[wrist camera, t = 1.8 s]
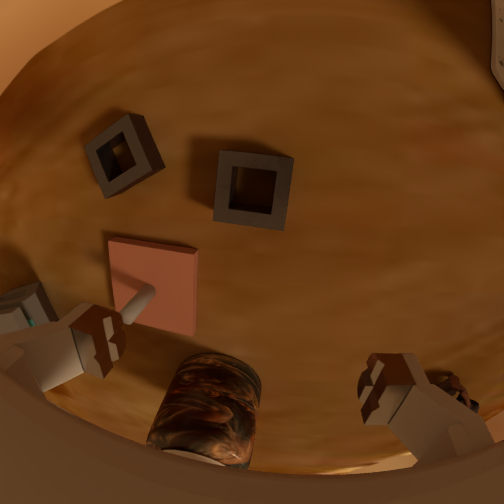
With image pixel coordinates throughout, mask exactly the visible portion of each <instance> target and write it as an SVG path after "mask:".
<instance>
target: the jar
mask: <svg viewBox="0 0 504 504" xmlns="http://www.w3.org/2000/svg"><path fill="white" fill-rule="evenodd" d="M260 397H261V382H260V379H259V377H258V375H257V374H256V372H255V371H254V370H253V369H252V368H251V367H249V366H248V365H247V364H245V363H243V362H242V361H240V360H238V359H235V358H233V357H230V356H226V355H221V354H211V353H208V354H199V355H195V356H192V357H190V358H188V359H186V360H185V361H183V362H182V363H181V365H180V366H179V368H178V369H177V371H176V373H175V376H174V378H173V380H172V382H171V384H170V386H169V388H168V390H167V392H166V395H165V397H164V399H163V401H162V403H161V406H160V408H159V410H158V412H157V414H156V417H155V419H154V421H153V424H152V426H151V429H150V431H149V434H148V437H147V441H146V445H147V446H149V447H152V448H155V449H158V450H161V451H165V452H168V453H171V454H175V455H179V456H182V457H186V458H190V459H194V460H198V461H202V462H207V463H212V464H216V465H222V466H227V467H233V468H239V469H246V470H248V467H249V464H250V461H251V456H252V451H253V445H254V440H255V433H256V426H257V420H258V412H259V405H260Z"/></svg>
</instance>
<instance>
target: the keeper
mask: <svg viewBox="0 0 504 504" xmlns="http://www.w3.org/2000/svg"><path fill="white" fill-rule="evenodd" d="M108 246H109V258H110V269H111V278H112V287H113V295H114V302H115V308H116V311H117V312H119V313H120V314H121V315H122V319H123V323H125V324H127V325H130V324H132V323H133V322H135V323H138V324H142V325H146V326H150V327H154V328H158V329H162V330H166V331H170V332H174V333H179V334H183V335H188V336H193V335H194V332H195V330H196V306H197V270H198V249H193V248H186V247H180V246H173V245H167V244H160V243H154V242H148V241H141V240H135V239H128V238H122V237H116V236H115V237H113V238H112V239H110V240H108Z"/></svg>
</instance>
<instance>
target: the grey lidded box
mask: <svg viewBox="0 0 504 504" xmlns="http://www.w3.org/2000/svg"><path fill="white" fill-rule="evenodd" d="M53 321H54V322H58V321H59V319H58V317H57V315H56V313H55V311H54V309H53V307H52V305H51V303H50V301H49V299H48V297H47V295H46V293H45V291H44V289H43V286H42V284H41V282H40V281H39V282H35V283H32V284H29V285H25V286H22V287H19V288H15V289H12V290H10V291H8V292H6V293H5V294H3V295H1V296H0V335H1V334H5V333H9V332H13V331H17V330H21V329H25V328H29V327H33V326H37V325H41V324H45V323H49V322H53Z"/></svg>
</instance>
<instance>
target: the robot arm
mask: <svg viewBox="0 0 504 504" xmlns="http://www.w3.org/2000/svg"><path fill="white" fill-rule="evenodd" d="M491 5H492V54H491V70H492V72H493V75H494V76H495V78H496V80H497V81H498V83H499V84H500V86H501V87H502V89H503V90H504V0H491ZM122 324H123V319H122V315H121V314H120V313H119V312H117V311H114V310H111V309H108V308H104V307H101V306H98V305H95V304H91V303H88V302H82V303H80V304H79V305H78V306H76V307H75V308H74V309H73V310H71V311H70V312H69V313H68V314H66V315H65V316H64V317H63V318H62V319H60V320H59V321H58V322H54V321H53V322H49V323H45V324H41V325H37V326H33V327H29V328H25V329H21V330H17V331H13V332H9V333H5V334H1V335H0V504H504V440H503V441H500V442H498V443H495V442H494V440H493V438H492V436H491V434H490V432H489V430H488V428H487V426H486V424H485V422H484V420H483V418H482V417H481V416H479V415H478V414H476V413H475V412H473V411H472V410H471V409H469V408H468V407H466V406H465V405H463V404H462V403H460V402H459V401H458V400H456V399H455V398H453V397H452V396H450V395H449V394H448V393H446V392H445V391H443V390H442V389H440V388H439V387H437V386H436V385H435V384H430V382H429V380H428V378H427V376H426V375H425V373H424V371H423V369H422V367H421V365H420V363H419V361H418V359H417V357H416V356H415V355H414V354H413V353H399V354H393V353H371V355H370V356H369V358H368V360H367V362H366V363H367V366H368V369H366V370H365V371H364V372H362V374H361V376H360V379H359V382H358V387H357V393H358V399H359V401H361V402H362V403H363V404H364V405H363V407H362V409H361V413H362V417H363V422H364V425H388V427H389V428H390V429H391V430H392V432H393V433H394V434H395V435H396V436H397V437H398V438H399V439H400V441H401V442H402V443H403V444H404V445H405V446H406V447H407V448H408V449H409V451H410V452H411V453H412V454H413V455H414V456H415V457H416V458H417V459H418V461H417V463H416V464H415V465H413V466H412V467H410V468H403V469H397V470H390V471H382V472H373V473H361V474H346V475H299V474H282V473H270V472H261V471H253V470H246V469H239V468H233V467H227V466H222V465H216V464H212V463H207V462H202V461H198V460H194V459H190V458H186V457H182V456H179V455H175V454H171V453H168V452H165V451H161V450H158V449H155V448H152V447H149V446H146V445H143V444H140V443H138V442H135V441H132V440H130V439H127V438H124V437H122V436H119V435H117V434H115V433H112V432H110V431H107V430H105V429H103V428H101V427H98V426H96V425H94V424H92V423H90V422H88V421H86V420H84V419H82V418H80V417H78V416H76V415H74V414H72V413H70V412H68V411H66V410H65V409H63V408H61V407H59V406H57V405H56V404H54V403H52V402H50V401H49V400H47V399H46V397H45V395H44V393H43V392H45V391H47V390H49V389H51V388H53V387H55V386H58V385H60V384H62V383H64V382H66V381H68V380H70V379H72V378H74V377H76V376H78V375H80V374H82V373H84V372H87V373H89V374H92V375H94V376H97V377H100V378H103V379H104V378H105V377H106V375H107V374H108V373H109V371H110V370H111V369H112V368H113V364H112V362H113V361H115V360H118V359H119V358H120V357H121V356H122V354H123V352H124V349H125V345H126V338H125V333H124V332H123V331H122V329H121V328H120V327H121V326H122Z"/></svg>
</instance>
